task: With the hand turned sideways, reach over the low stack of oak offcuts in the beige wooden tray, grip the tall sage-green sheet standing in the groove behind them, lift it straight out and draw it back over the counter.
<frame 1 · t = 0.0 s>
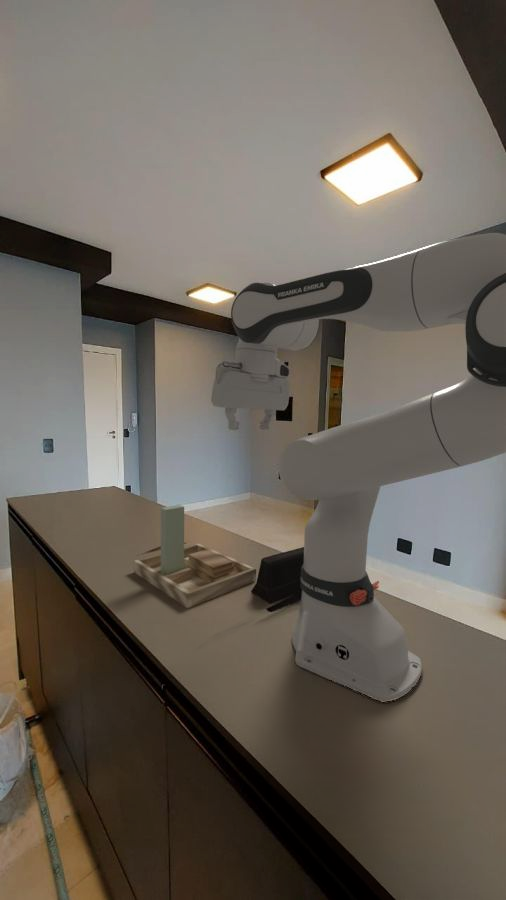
hand: (249, 429, 82), 39 cm above the worktop, tool pointing down, fingers open, 8 cm apart
barrier: (296, 592, 90), on the worktop
offcut stack: (209, 573, 95), point 1 cm above the worktop, touching beige wooden tray
wooden fragment: (179, 551, 116), on the worktop
beige wooden tray: (194, 582, 93), on the worktop
tall sheet: (172, 579, 91), point 1 cm above the worktop, touching beige wooden tray
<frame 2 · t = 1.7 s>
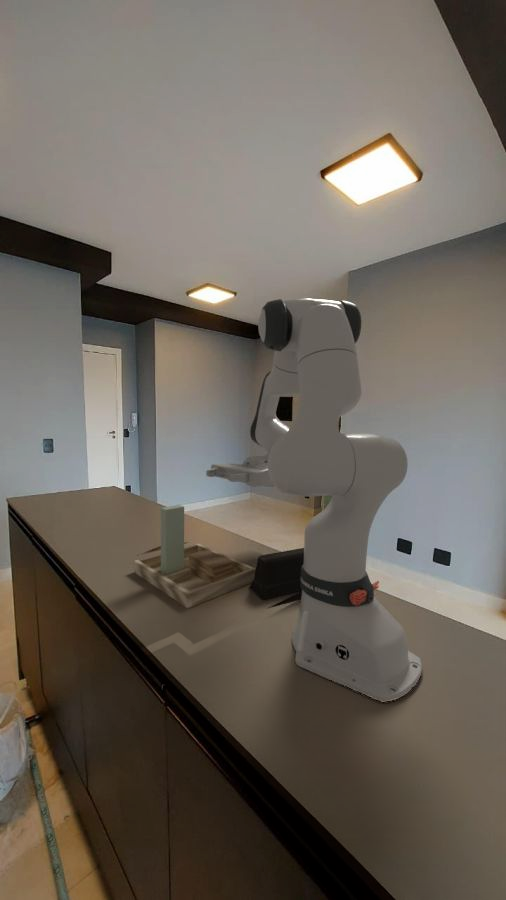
hand: (218, 475, 99), 26 cm above the worktop, tool horizontal, fingers open, 8 cm apart
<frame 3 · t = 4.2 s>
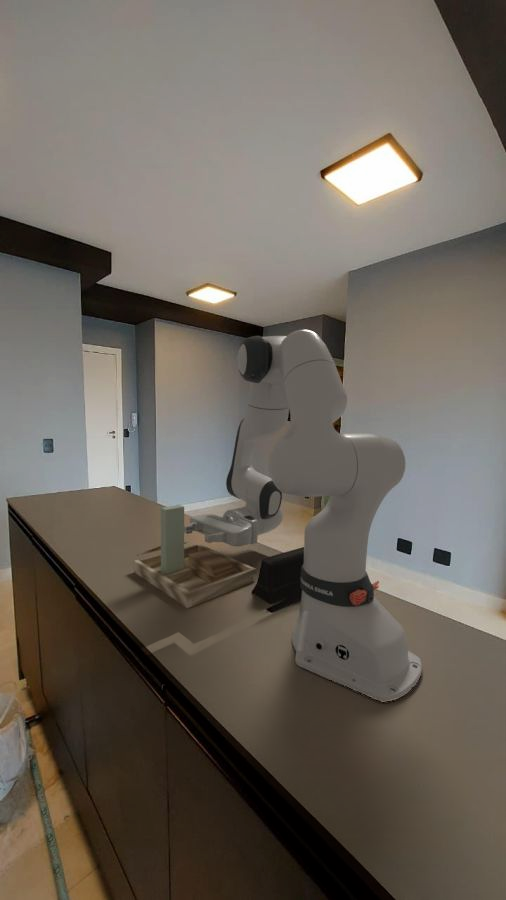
hand: (195, 534, 95), 11 cm above the worktop, tool horizontal, fingers open, 8 cm apart
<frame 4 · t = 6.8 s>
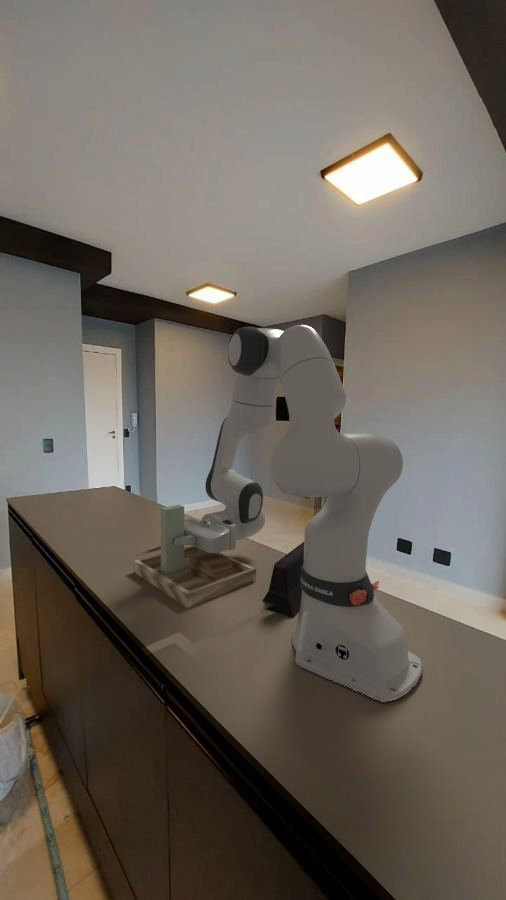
hand: (169, 540, 90), 12 cm above the worktop, tool horizontal, fingers closed on tall sheet, 2 cm apart
tall sheet: (172, 579, 91), point 2 cm above the worktop, touching beige wooden tray, gripper
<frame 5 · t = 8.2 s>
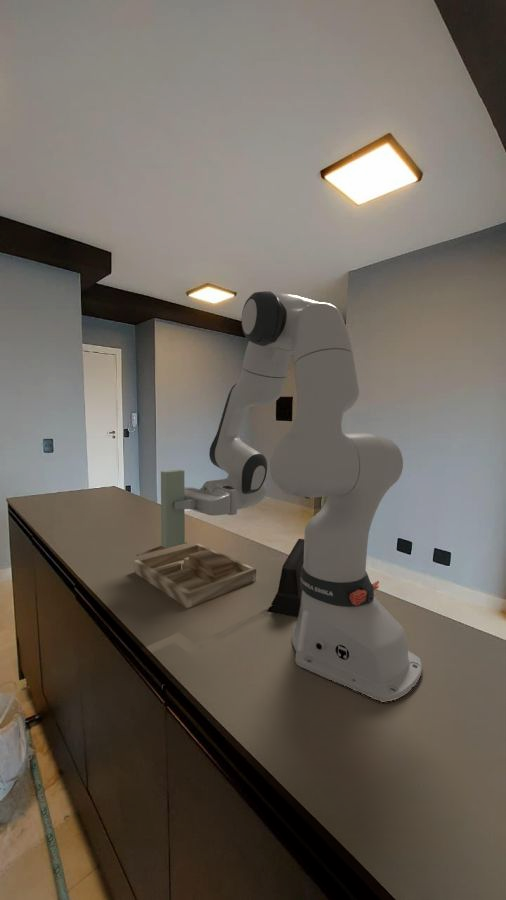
hand: (169, 504, 89), 20 cm above the worktop, tool horizontal, fingers closed on tall sheet, 2 cm apart
tall sheet: (173, 544, 90), point 10 cm above the worktop, touching gripper
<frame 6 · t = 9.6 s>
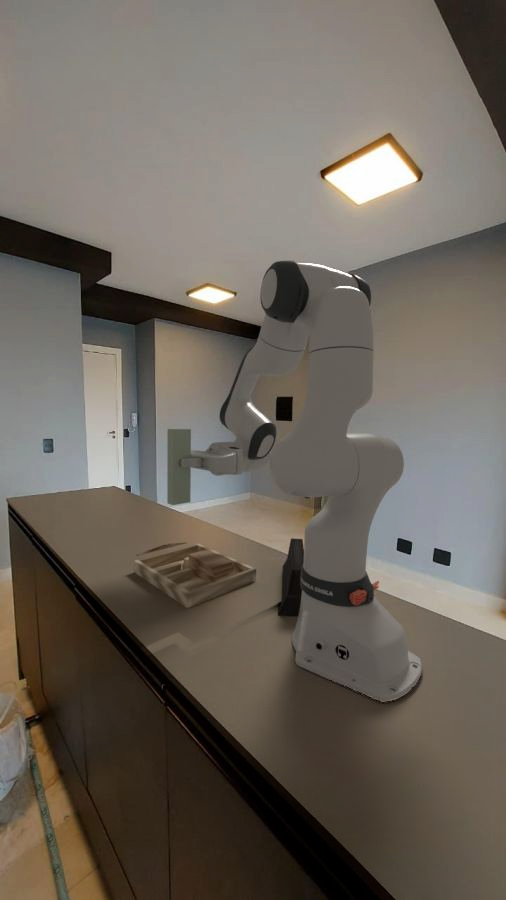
hand: (176, 462, 89), 30 cm above the worktop, tool horizontal, fingers closed on tall sheet, 2 cm apart
tall sheet: (179, 502, 91), point 20 cm above the worktop, touching gripper
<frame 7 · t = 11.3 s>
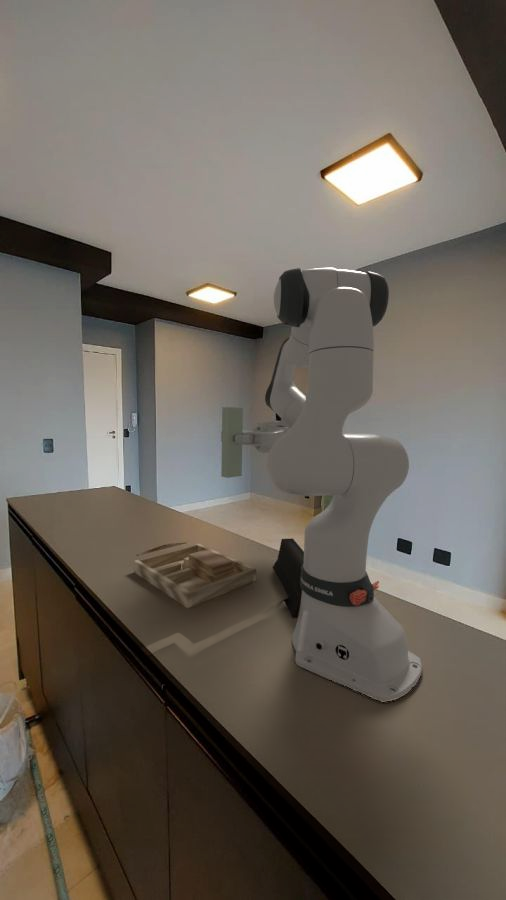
hand: (229, 438, 97), 36 cm above the worktop, tool horizontal, fingers closed on tall sheet, 2 cm apart
tall sheet: (231, 476, 98), point 26 cm above the worktop, touching gripper
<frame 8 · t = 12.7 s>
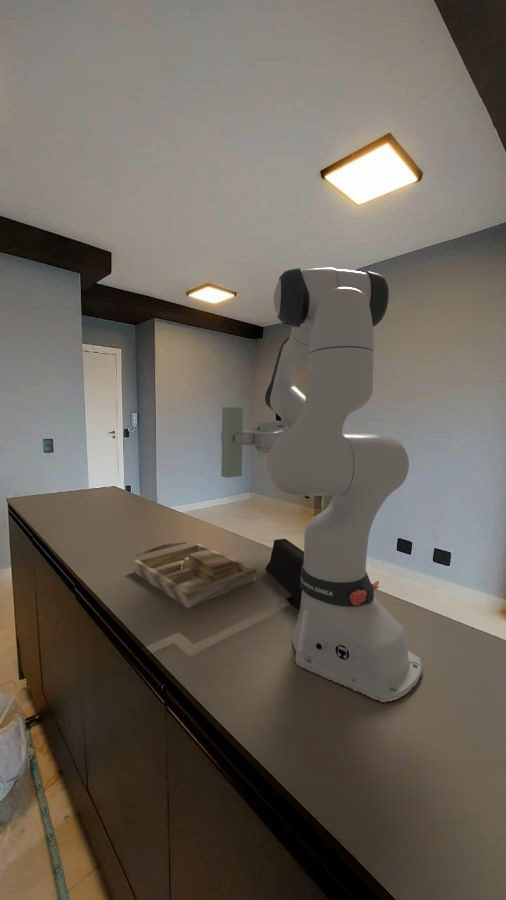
hand: (229, 438, 97), 36 cm above the worktop, tool horizontal, fingers closed on tall sheet, 2 cm apart
tall sheet: (231, 476, 98), point 26 cm above the worktop, touching gripper
at the end: the gripper is holding tall sheet; tall sheet point 25.9 cm above the worktop; offcut stack moved 0.0 cm from its start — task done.
